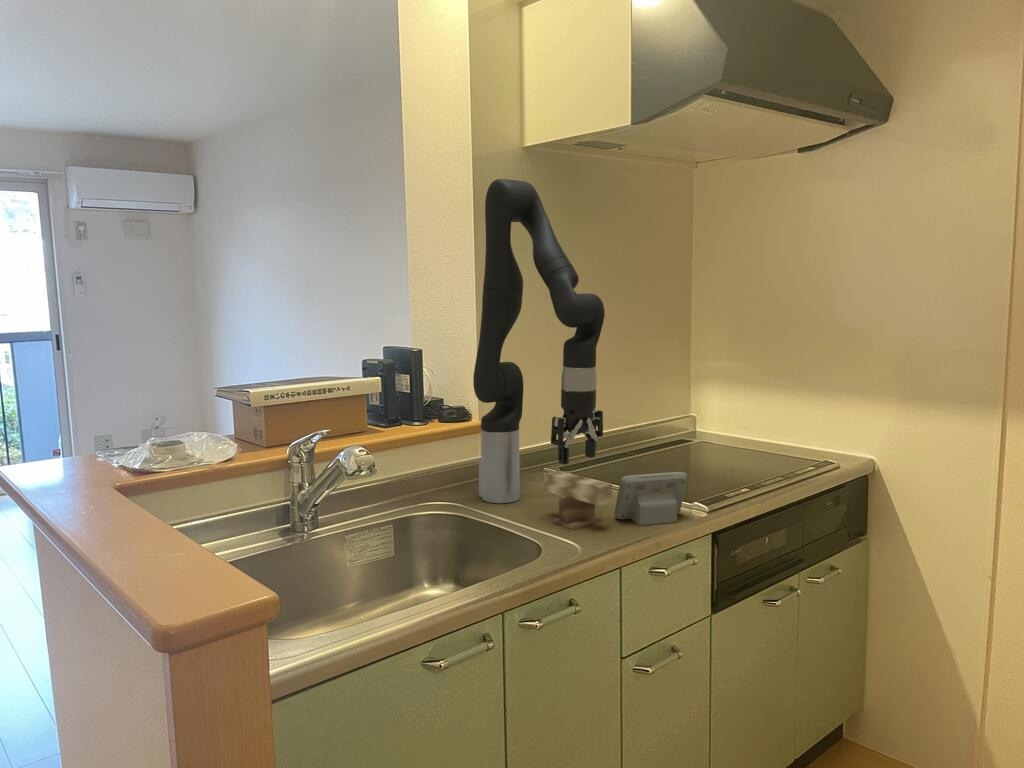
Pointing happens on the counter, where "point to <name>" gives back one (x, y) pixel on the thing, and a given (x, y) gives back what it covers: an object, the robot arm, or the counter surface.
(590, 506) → the walnut ridge
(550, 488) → the beige long bar
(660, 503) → the digital clock
